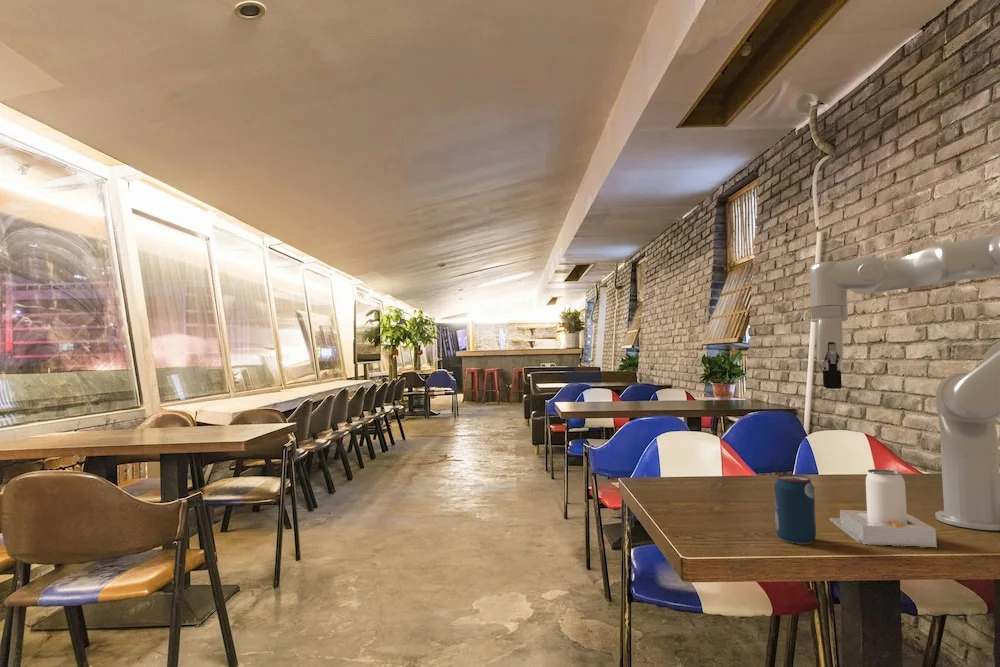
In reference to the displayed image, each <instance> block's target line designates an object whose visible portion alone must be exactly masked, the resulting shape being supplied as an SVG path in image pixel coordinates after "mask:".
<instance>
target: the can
mask: <svg viewBox="0 0 1000 667" xmlns="http://www.w3.org/2000/svg"><path fill="white" fill-rule="evenodd" d="M902 474H903V473H902V472H901V471H899V470H893V469H885V468H884V469H879V468H878V469H877V468H873V469H871V468H870V469H867V474H866V477H865V495H866V511H867V520H868V521H869V522H871V523H885V524H890V523H889V521H896V522H898V523H900V524H907V514H908V512H907V494H906V482H905V481H906V480H905V479H904V478H903V476H902Z"/></svg>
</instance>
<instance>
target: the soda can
mask: <svg viewBox="0 0 1000 667" xmlns="http://www.w3.org/2000/svg"><path fill="white" fill-rule="evenodd" d="M773 486H774V489H773V490H774V492H773V493H774V511H775V512H774V516H775V517H774V518H775V519H774V521H775V522H774V523H775V533H776V535H777V537H778V538H779V539H780V540H781V541H782V540H783V541H782V542H785V541H786V542H785V543H788V542H791V543H790V544H793V543H797V544H796V545H810V544H812V543H813V542H814V540H815V539H816V536H817V531H816V530H817V529H816V527H817V526H816V503H815V502H816V501H815V500H816V499H815V498H816V497H815V487H814V484H813V483H812V482H811V477H810V476H805V475H801V474H800V475H798V474H779V475H777V479H776V480H775V482H774V484H773Z"/></svg>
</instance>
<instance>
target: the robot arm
mask: <svg viewBox="0 0 1000 667" xmlns="http://www.w3.org/2000/svg"><path fill="white" fill-rule="evenodd" d="M808 270H809V271H808V272H809V277H808V278H809V295H810V296H809V298H810V322H812V323H813V322H814V323H815V324H816V325H815V339H816V340H815V341H816V346H815V347H816V362H818V363H819V364H820V363H822V360H823V370H822V381H823V385H822V386H823V387H824V388H825V389H827V390H828V389H831V390H834V389H835V390H841V389H842V388H843V386H842V384H843V383H842V371H841V365H840V363H841V362H843V353H844V352H843V350H844V338H843V337H844V336H843V335H844V333H843V322H844V321H848V320H849V314H848V313H849V311H848V309H849V308H848V290H849V291H850V292H853V293H854V294H858V295H859V294H860V295H869V294H876V293H883V292H884V293H885V292H891V291H892V292H893V291H897V290H904V289H909V288H915V287H924V286H925V287H926V286H934V285H938V284H945V283H952V282H957V281H958V282H960V281H964V280H965V281H966V280H972V279H980V278H987V277H994V276H996V277H997V276H1000V234H996V235H995V234H994V235H988V236H981V237H976V238H970V239H965V240H959V241H952V242H951V241H950V242H946V243H945V242H944V243H940V244H936V245H932V246H929V247H927V248H922V250H919V251H916V252H913V253H911V254H907V255H904V256H899V257H895V258H890V259H883V260H881V259H880V258H877V257H873V256H863V257H858V258H853V259H847V260H842V261H835V260H834V261H833V260H832V261H831V260H830V261H822V262H817V263H814V264H812V265H811V266H810V267H809V269H808ZM982 360H983V361H982V362H981V363H979V364H978V365H977V366H975V367H974V368H973V369H972V370H970V371H969V372H957V373H954V374H950V375H948V376H947V377H945V378H943V379H942V380H941V381H940V383H939V384H938V386H937V388H936V391H935V406H936V412H937V413H936V414H937V418H938V427H939V437H940V438H939V440H940V458H941V477H942V478H941V479H942V480H941V482H942V495H943V510H938V511H936V512H935V513H934V514H935V519H936V520H937V521H940V522H941V523H943V524H948V525H951V526H955V527H959V528H965V529H972V530H980V531H997V532H998V531H1000V461H999V460H1000V457H999V440H998V431H997V426H996V420H995V419H997V418H998V417H1000V340H999V341H998V342H996V343H995V344H993V345H991V347H990V348H989V349H988V350H987V351H986V353H985V354H984V356H983V359H982Z"/></svg>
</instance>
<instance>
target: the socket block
mask: <svg viewBox="0 0 1000 667" xmlns="http://www.w3.org/2000/svg"><path fill="white" fill-rule="evenodd" d="M829 522H831V523H832V522H833V523H832V524H833V525H835V526H836V527H837V528H839V529H840V530H841V531H842V532H844V533H845V534H846V535H848V537H851V538H852V539H853V540H854V541H856V542H857V543H861V544H863V545H866V544H867V545H868V546H885V545H892V546H891V547H905V546H920V547H919V548H925V547H936V548H935V549H937V548H938V545H937V544H938V543H937V530H936V528H935V527H934V526H931V525H929V524H927V523H926V522H924V521H921V520H920V519H918V518H916V517H914V516H913V515H911V514H908V513H907V524H900V523H898V522H896V521H889V523H890V524H885V523H871V522H869V521H868V520H867V510H855V509H854V510H852V509H849V510H848V509H840V510H839V517H829ZM900 545H901V546H900ZM903 545H904V546H903Z"/></svg>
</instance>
